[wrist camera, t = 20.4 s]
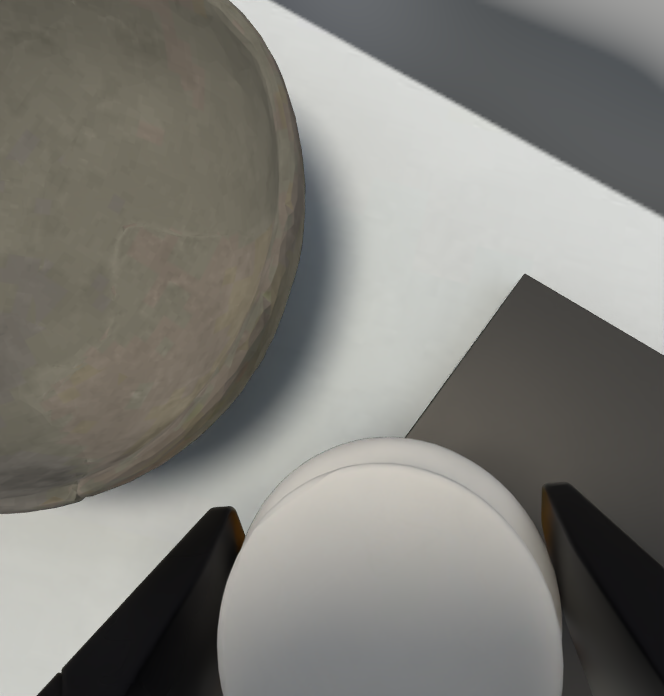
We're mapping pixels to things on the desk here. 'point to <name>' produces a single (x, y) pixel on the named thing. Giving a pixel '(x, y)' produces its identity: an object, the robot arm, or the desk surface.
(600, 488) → the scale
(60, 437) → the bowl
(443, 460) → the supplement bottle
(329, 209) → the desk surface
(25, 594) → the desk surface
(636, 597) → the robot arm
